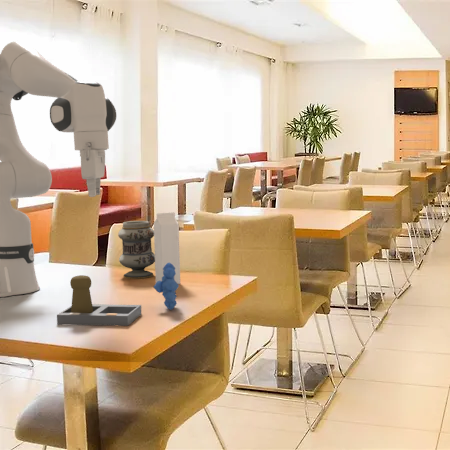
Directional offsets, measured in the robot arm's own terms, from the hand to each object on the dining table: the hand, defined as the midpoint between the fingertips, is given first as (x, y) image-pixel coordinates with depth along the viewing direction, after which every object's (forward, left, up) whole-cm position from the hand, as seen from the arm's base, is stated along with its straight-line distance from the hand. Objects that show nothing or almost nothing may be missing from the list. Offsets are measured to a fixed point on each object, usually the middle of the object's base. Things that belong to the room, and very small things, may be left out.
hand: (94, 195), depth 198 cm
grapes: (+18, +1, -30) cm, 36 cm away
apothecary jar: (-3, +47, -30) cm, 56 cm away
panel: (+4, -12, -30) cm, 33 cm away
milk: (+10, +35, -30) cm, 47 cm away
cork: (0, -12, -30) cm, 33 cm away
